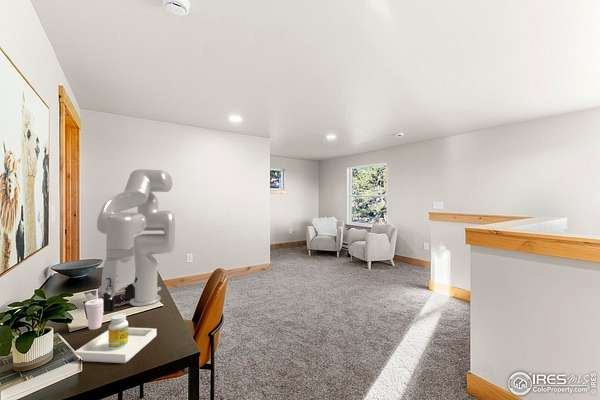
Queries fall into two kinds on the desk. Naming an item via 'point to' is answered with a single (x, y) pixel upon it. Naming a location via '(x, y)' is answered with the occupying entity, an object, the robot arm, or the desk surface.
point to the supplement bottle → (118, 331)
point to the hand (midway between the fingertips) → (120, 304)
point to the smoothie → (94, 312)
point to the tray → (102, 352)
